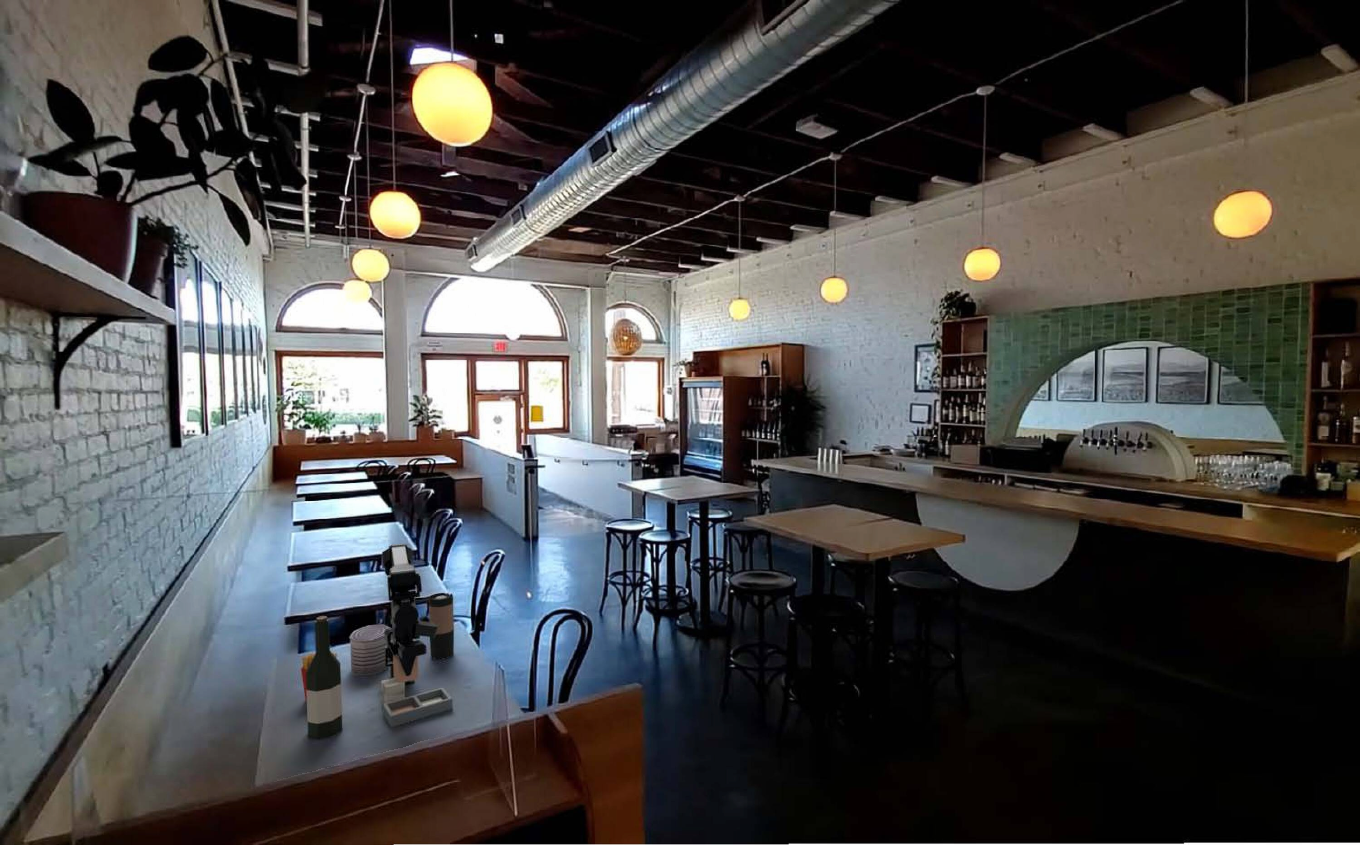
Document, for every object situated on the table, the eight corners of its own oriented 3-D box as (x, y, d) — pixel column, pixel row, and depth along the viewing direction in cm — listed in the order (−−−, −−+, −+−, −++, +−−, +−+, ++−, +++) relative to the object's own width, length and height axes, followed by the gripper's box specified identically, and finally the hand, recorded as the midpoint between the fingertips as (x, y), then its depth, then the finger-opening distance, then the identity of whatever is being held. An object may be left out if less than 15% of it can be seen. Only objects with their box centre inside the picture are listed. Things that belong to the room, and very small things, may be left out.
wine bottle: (316, 723, 172) (312, 612, 170) (349, 722, 173) (345, 611, 171) (300, 740, 164) (296, 624, 162) (335, 739, 164) (331, 623, 163)
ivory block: (381, 701, 184) (381, 681, 184) (400, 696, 187) (400, 676, 187) (386, 708, 180) (385, 687, 180) (405, 703, 183) (404, 682, 183)
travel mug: (431, 661, 210) (430, 601, 209) (428, 653, 217) (427, 594, 216) (456, 657, 214) (454, 597, 212) (452, 649, 220) (451, 591, 219)
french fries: (300, 703, 183) (298, 658, 182) (306, 696, 187) (305, 652, 186) (335, 700, 184) (333, 656, 183) (340, 693, 188) (339, 650, 188)
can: (398, 665, 207) (397, 629, 207) (364, 679, 198) (363, 640, 197) (377, 657, 213) (375, 621, 213) (343, 670, 204) (342, 633, 203)
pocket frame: (383, 714, 176) (383, 704, 176) (443, 697, 186) (442, 687, 186) (391, 727, 170) (390, 716, 170) (452, 709, 179) (452, 698, 179)
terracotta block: (393, 677, 176) (393, 655, 176) (412, 672, 179) (412, 650, 179) (398, 683, 172) (398, 661, 172) (418, 678, 175) (417, 656, 175)
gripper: (445, 618, 173) (447, 675, 173) (424, 601, 187) (425, 654, 188) (401, 628, 166) (403, 687, 167) (382, 609, 180) (384, 664, 181)
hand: (405, 672), depth 176 cm, fingers closed on terracotta block, 5 cm apart
